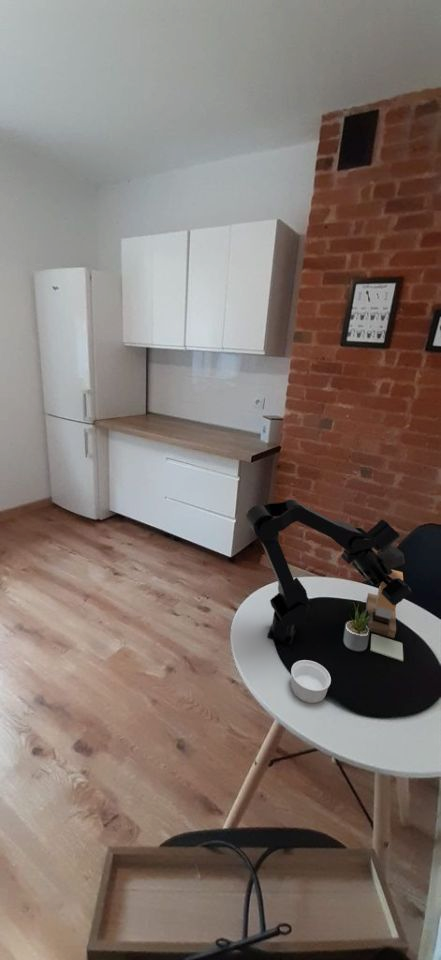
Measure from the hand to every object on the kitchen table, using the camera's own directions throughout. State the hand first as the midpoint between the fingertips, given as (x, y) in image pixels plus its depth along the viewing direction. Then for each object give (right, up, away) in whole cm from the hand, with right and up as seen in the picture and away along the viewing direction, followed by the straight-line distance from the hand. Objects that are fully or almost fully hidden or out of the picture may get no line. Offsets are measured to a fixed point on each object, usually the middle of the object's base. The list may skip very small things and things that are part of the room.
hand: (392, 593), depth 110 cm
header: (-1, -9, +7) cm, 12 cm away
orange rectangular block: (-2, -6, +2) cm, 7 cm away
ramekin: (-29, -16, -21) cm, 39 cm away
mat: (-4, -13, -5) cm, 15 cm away
